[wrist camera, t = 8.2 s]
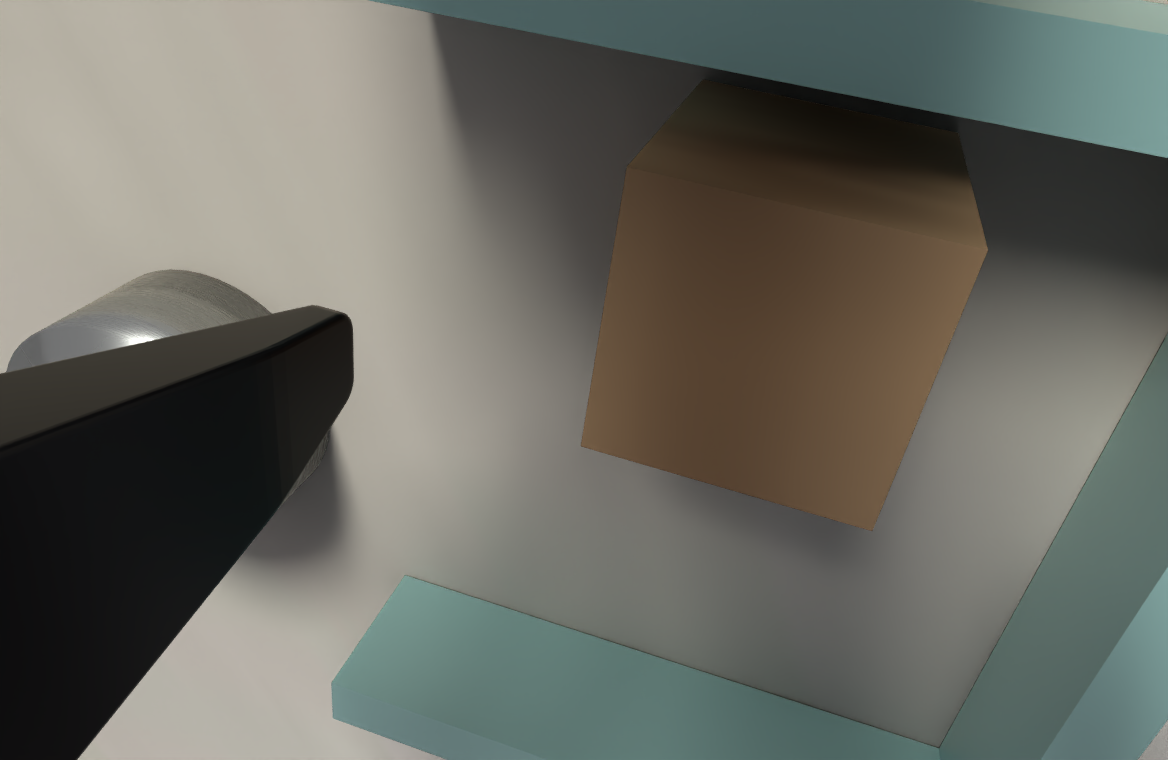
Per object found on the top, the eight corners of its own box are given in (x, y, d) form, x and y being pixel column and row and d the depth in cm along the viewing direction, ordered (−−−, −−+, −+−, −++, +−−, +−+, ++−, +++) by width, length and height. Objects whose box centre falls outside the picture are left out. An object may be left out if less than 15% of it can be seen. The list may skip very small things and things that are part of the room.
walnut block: (957, 132, 14) (987, 250, 9) (876, 355, 16) (872, 531, 11) (703, 78, 14) (627, 166, 10) (659, 298, 16) (581, 445, 12)
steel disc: (335, 517, 22) (264, 600, 19) (129, 451, 23) (36, 522, 21) (328, 304, 19) (243, 371, 16) (89, 239, 20) (-25, 293, 17)
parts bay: (975, 798, 20) (989, 956, 17) (404, 608, 23) (333, 718, 20) (1437, 49, 11) (1624, 114, 8) (421, -122, 14) (296, -117, 11)
